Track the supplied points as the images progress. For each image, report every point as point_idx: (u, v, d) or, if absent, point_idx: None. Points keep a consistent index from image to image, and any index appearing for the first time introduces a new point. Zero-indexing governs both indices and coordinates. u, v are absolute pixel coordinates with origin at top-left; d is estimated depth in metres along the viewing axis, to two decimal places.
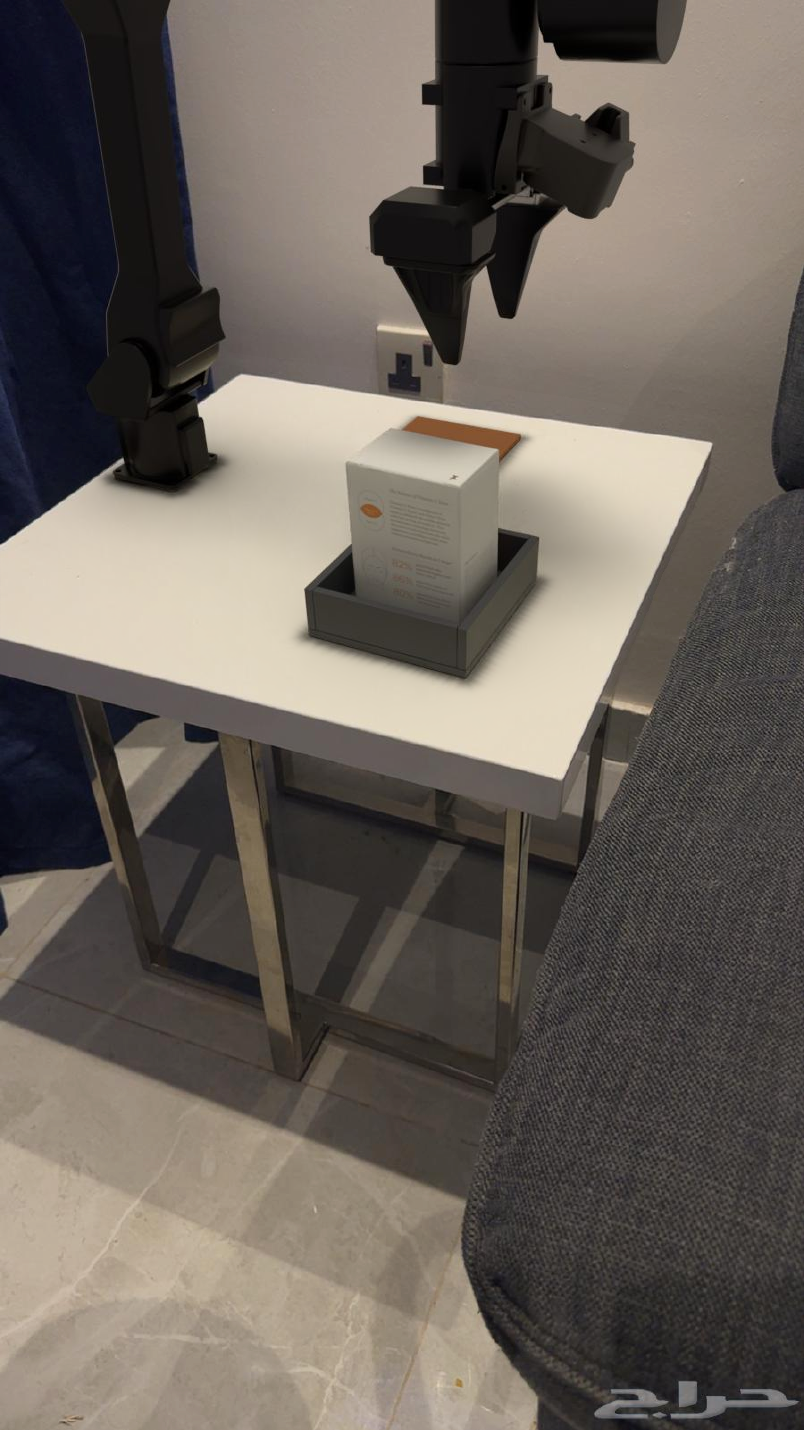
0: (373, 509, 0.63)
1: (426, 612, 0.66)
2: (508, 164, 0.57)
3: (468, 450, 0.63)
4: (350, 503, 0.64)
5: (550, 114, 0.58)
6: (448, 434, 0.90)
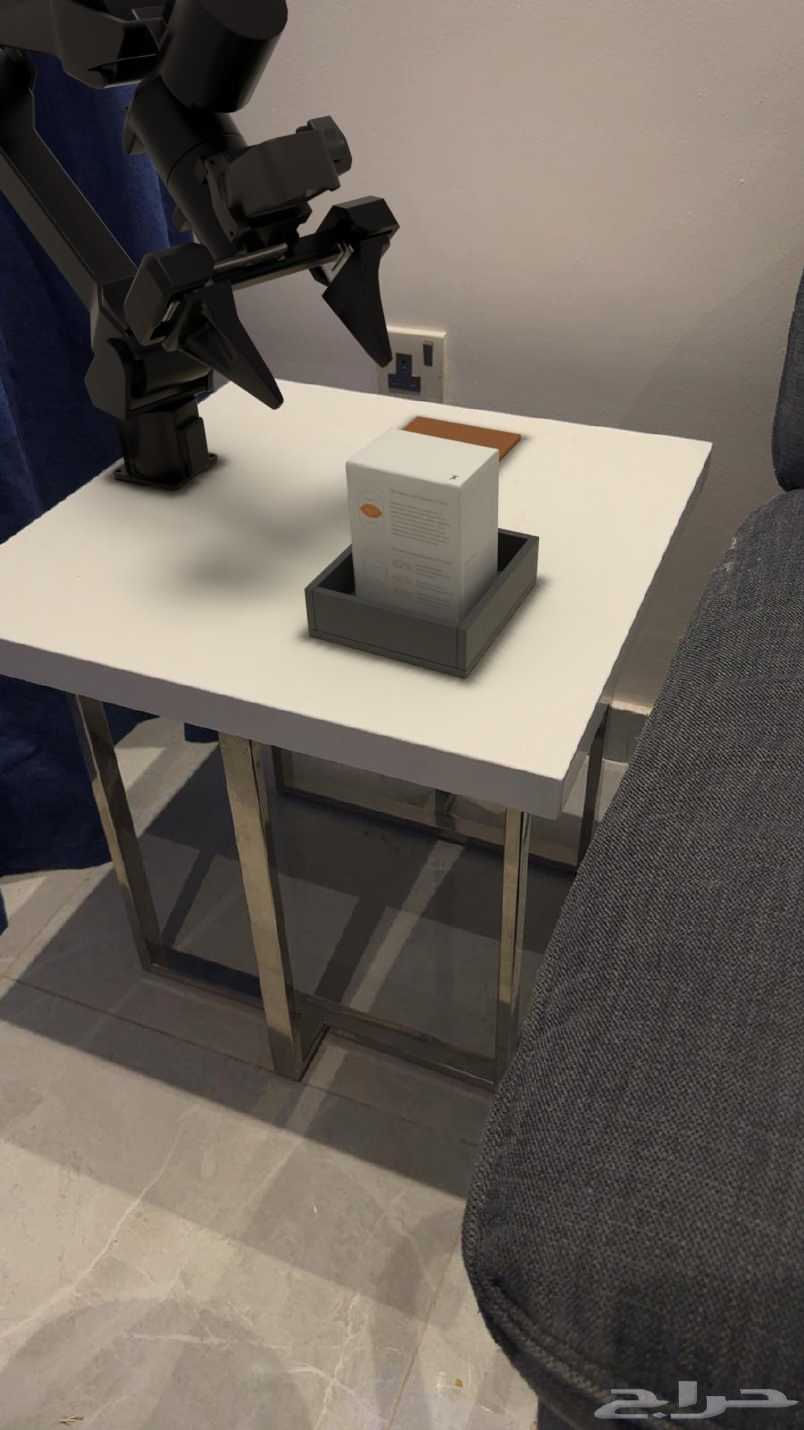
0: (373, 509, 0.63)
1: (426, 612, 0.66)
2: (222, 213, 0.61)
3: (468, 450, 0.63)
4: (350, 503, 0.64)
5: None
6: (448, 434, 0.90)
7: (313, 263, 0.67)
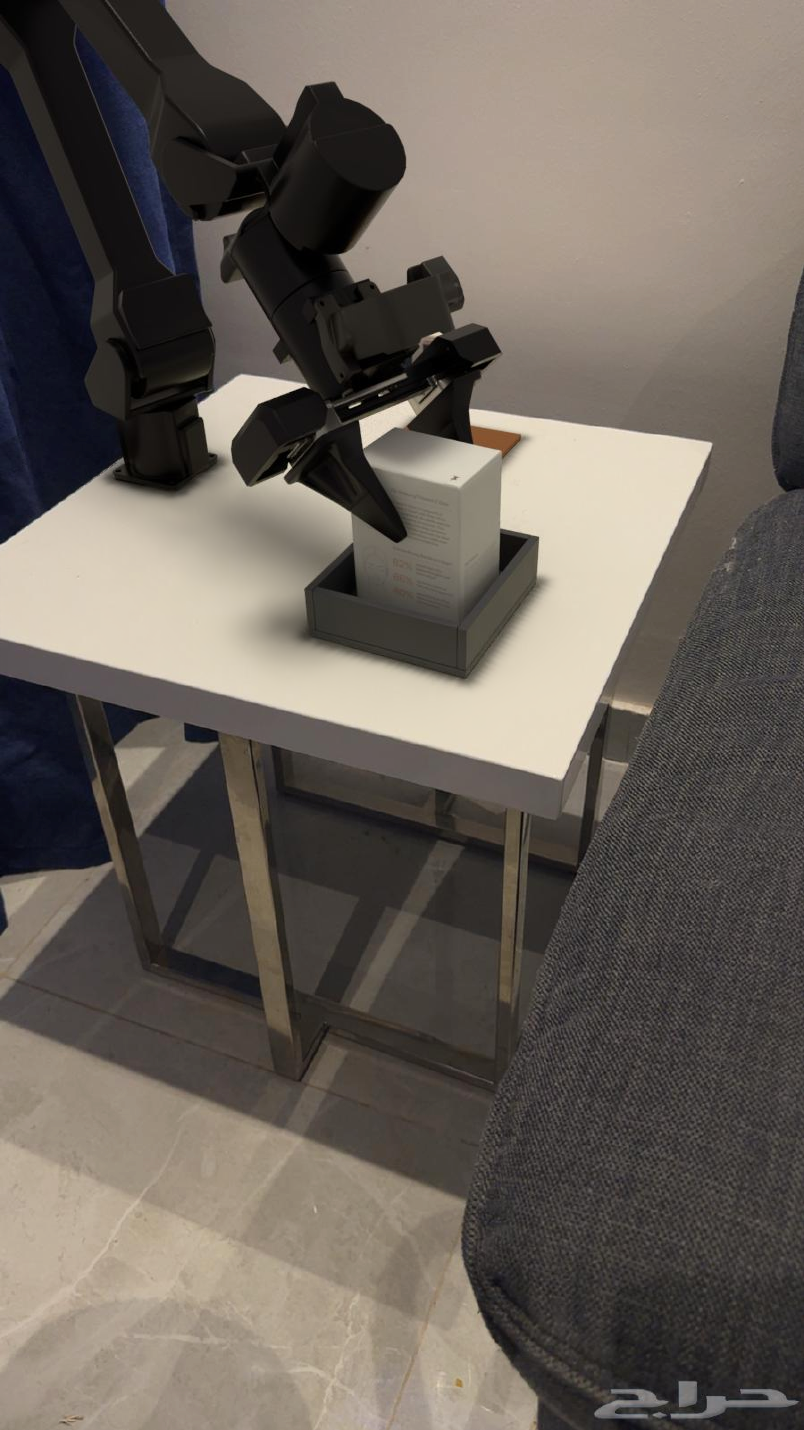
0: None
1: (426, 612, 0.66)
2: (332, 355, 0.60)
3: (471, 451, 0.63)
4: None
5: None
6: None
7: (416, 394, 0.66)
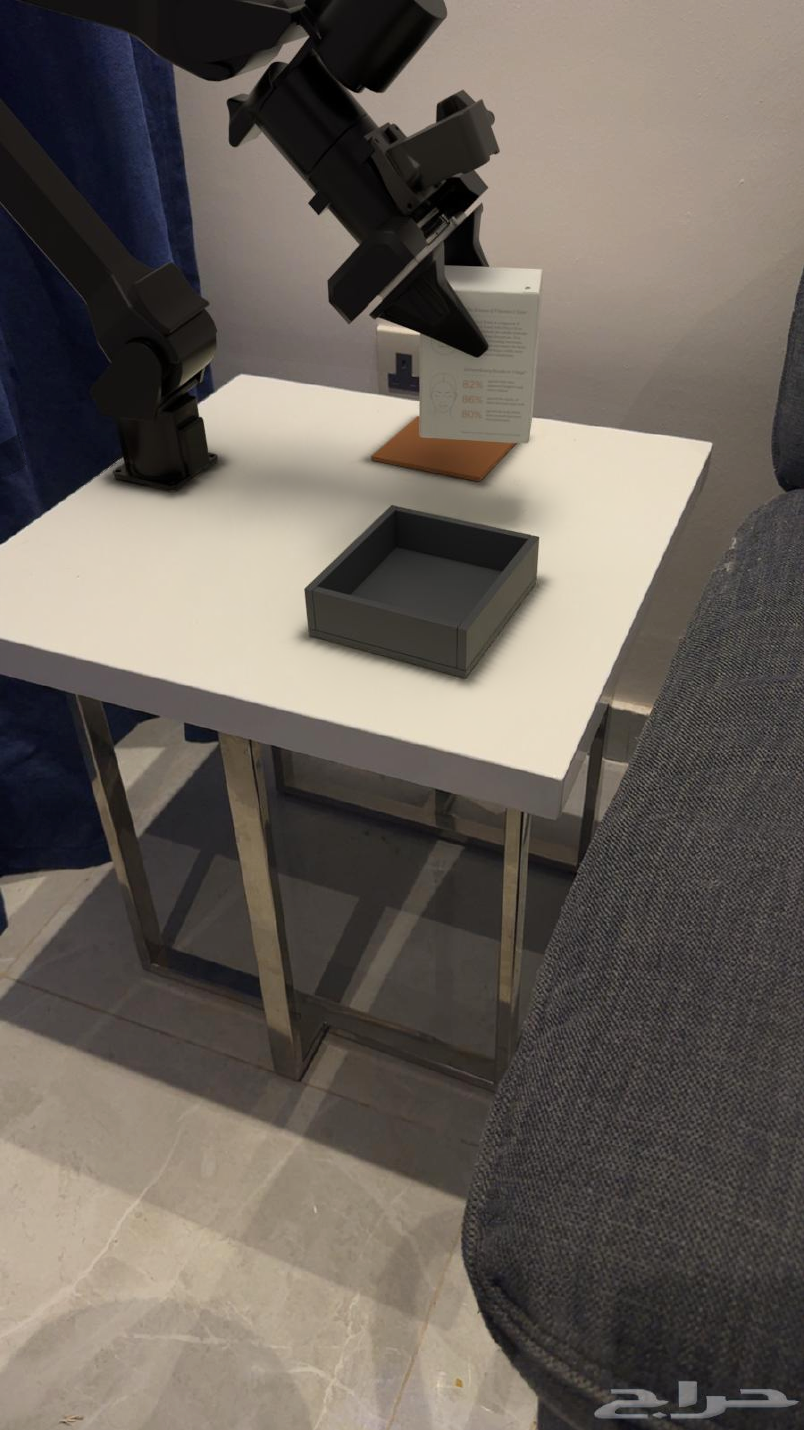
0: None
1: (494, 428, 0.73)
2: (399, 187, 0.64)
3: (518, 271, 0.70)
4: None
5: (406, 138, 0.66)
6: None
7: (434, 232, 0.72)
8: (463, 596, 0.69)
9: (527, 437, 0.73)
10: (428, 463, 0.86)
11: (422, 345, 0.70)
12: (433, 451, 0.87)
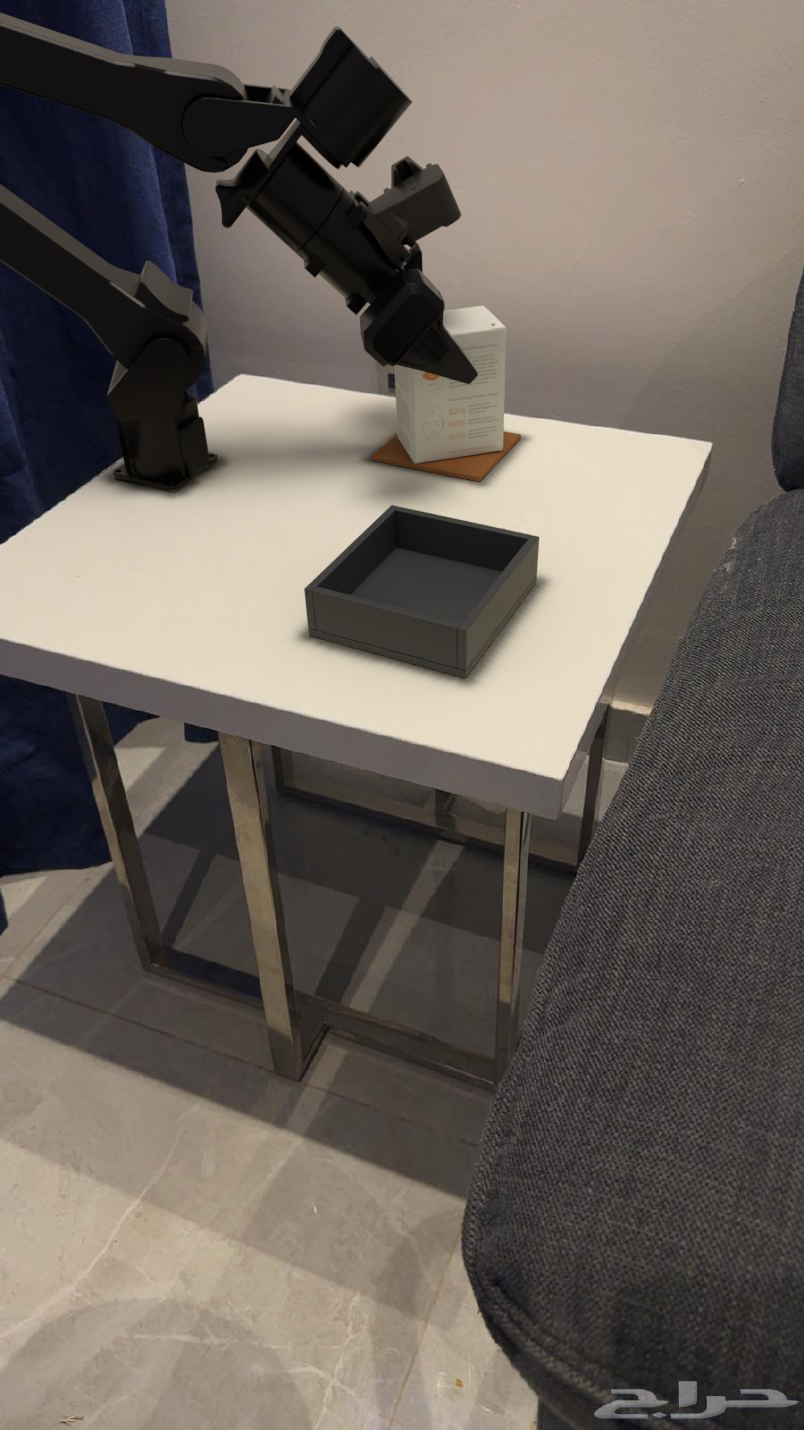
0: None
1: (476, 443, 0.86)
2: (392, 244, 0.75)
3: (469, 311, 0.83)
4: (414, 374, 0.81)
5: (377, 202, 0.76)
6: None
7: None
8: (463, 596, 0.69)
9: (502, 445, 0.86)
10: (428, 463, 0.86)
11: (414, 387, 0.81)
12: None
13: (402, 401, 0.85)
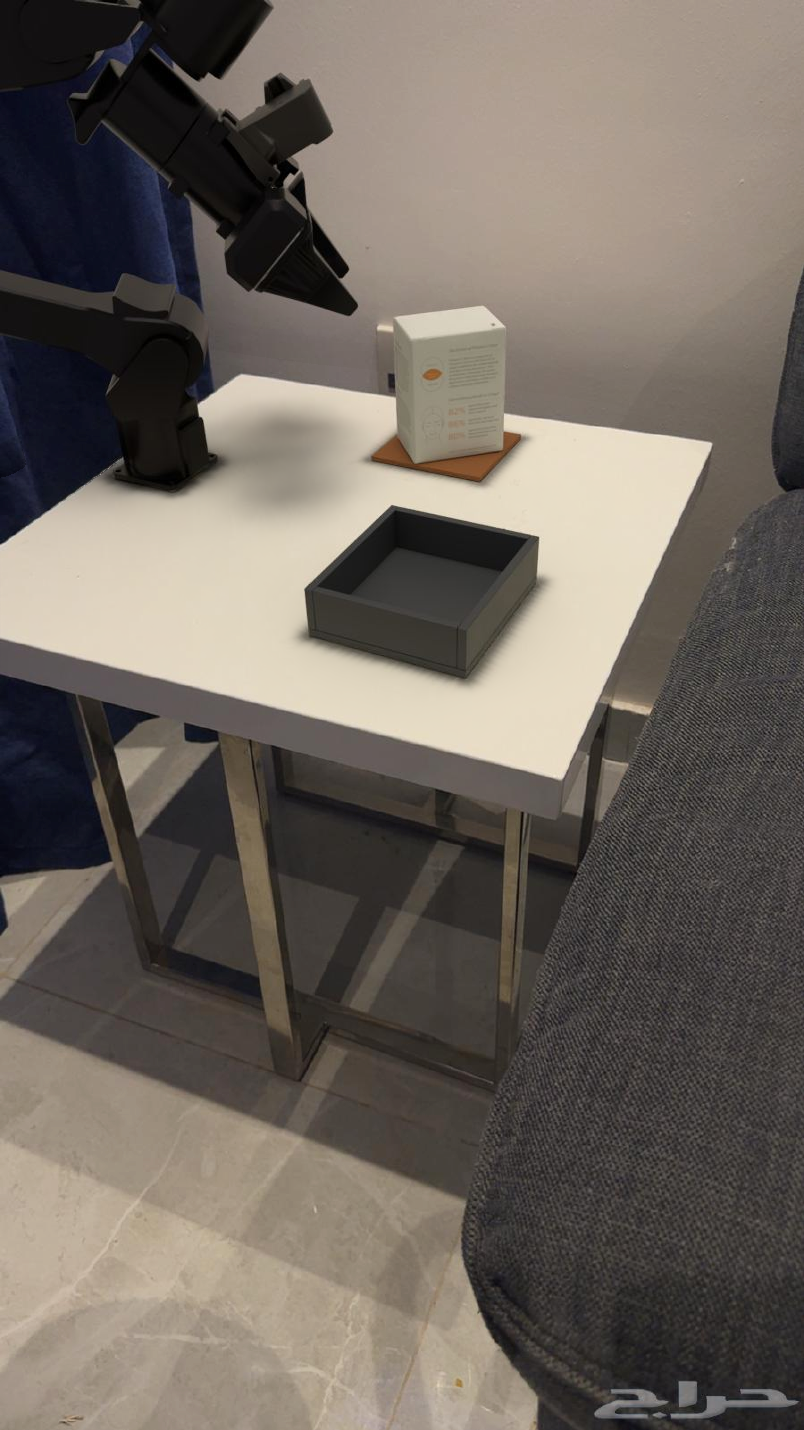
0: (434, 372, 0.81)
1: (476, 443, 0.86)
2: (259, 163, 0.71)
3: (469, 311, 0.83)
4: (414, 374, 0.81)
5: (245, 120, 0.72)
6: None
7: None
8: (463, 596, 0.69)
9: (502, 445, 0.86)
10: (428, 463, 0.86)
11: (414, 387, 0.81)
12: None
13: (402, 401, 0.85)
